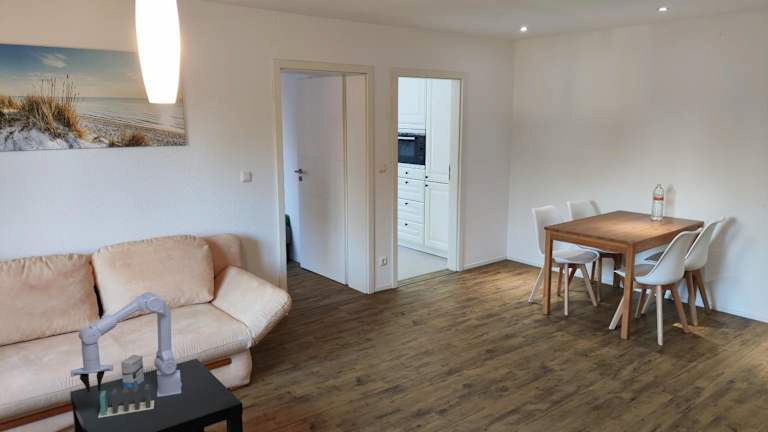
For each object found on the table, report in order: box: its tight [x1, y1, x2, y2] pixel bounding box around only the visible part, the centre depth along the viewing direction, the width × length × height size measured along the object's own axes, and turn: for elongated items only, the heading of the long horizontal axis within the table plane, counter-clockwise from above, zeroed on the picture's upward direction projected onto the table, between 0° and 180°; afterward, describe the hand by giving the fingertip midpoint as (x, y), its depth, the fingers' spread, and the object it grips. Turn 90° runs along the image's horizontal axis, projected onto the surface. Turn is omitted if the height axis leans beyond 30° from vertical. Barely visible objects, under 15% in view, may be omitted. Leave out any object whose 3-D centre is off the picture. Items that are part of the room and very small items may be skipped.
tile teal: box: [99, 390, 109, 416], centre depth 221 cm, size 2×5×8 cm, turn 20°
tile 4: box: [133, 384, 141, 410], centre depth 225 cm, size 2×5×8 cm, turn 20°
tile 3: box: [122, 387, 130, 412], centre depth 224 cm, size 2×5×8 cm, turn 20°
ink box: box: [120, 354, 145, 390], centre depth 245 cm, size 8×5×12 cm, turn 168°
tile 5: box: [144, 383, 152, 408], centre depth 226 cm, size 2×5×8 cm, turn 20°
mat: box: [97, 400, 155, 419], centre depth 224 cm, size 20×7×1 cm, turn 110°
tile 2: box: [110, 388, 120, 414], centre depth 222 cm, size 2×5×8 cm, turn 20°
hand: (94, 390), depth 219 cm, fingers open, 3 cm apart
